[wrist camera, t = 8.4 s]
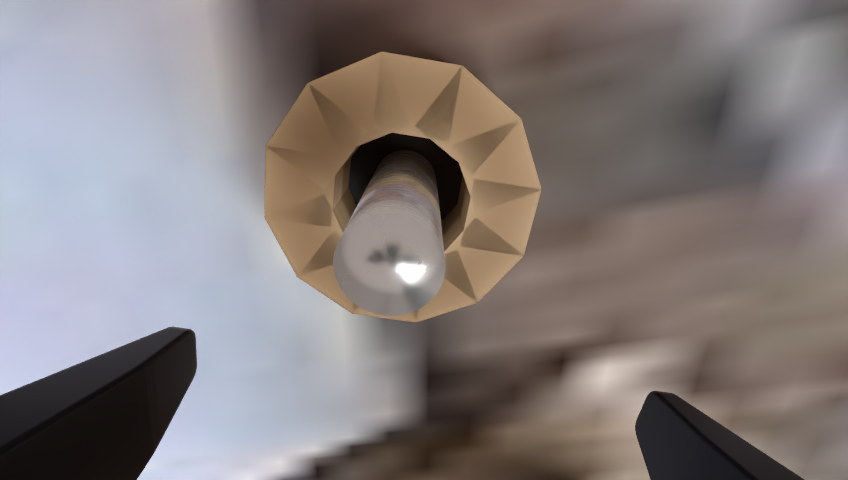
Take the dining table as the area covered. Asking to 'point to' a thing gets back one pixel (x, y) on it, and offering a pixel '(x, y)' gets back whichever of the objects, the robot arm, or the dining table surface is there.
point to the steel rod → (394, 239)
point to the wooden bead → (416, 116)
